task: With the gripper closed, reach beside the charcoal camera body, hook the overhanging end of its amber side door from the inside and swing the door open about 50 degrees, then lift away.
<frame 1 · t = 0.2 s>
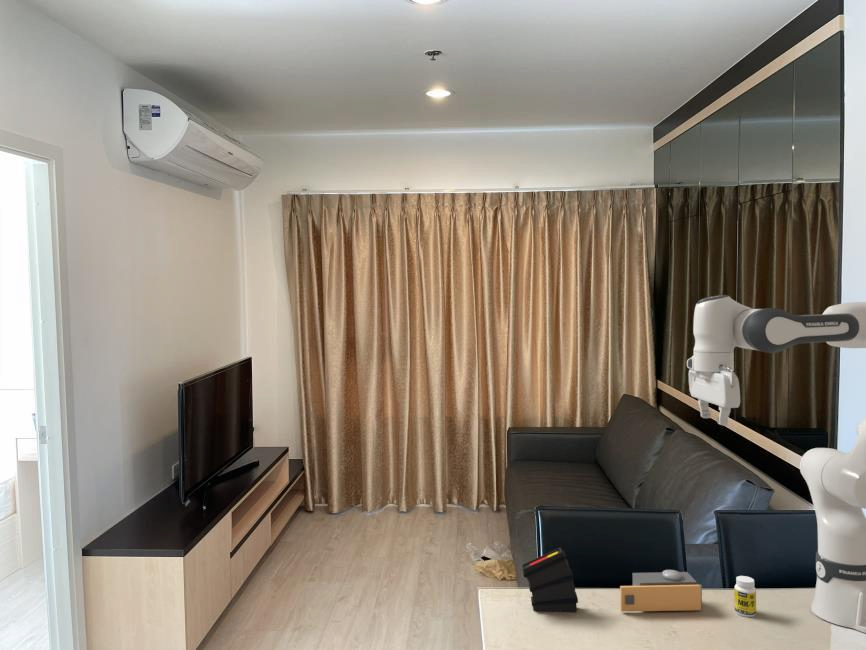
hand: (713, 421, 154), 48 cm above the table, tool pointing down, fingers open, 8 cm apart
magazine: (549, 609, 162), on the table
side door: (661, 598, 158), point 3 cm above the table, hinge at 0.0°
camera body: (664, 604, 163), on the table
supplement bottle: (745, 613, 158), on the table
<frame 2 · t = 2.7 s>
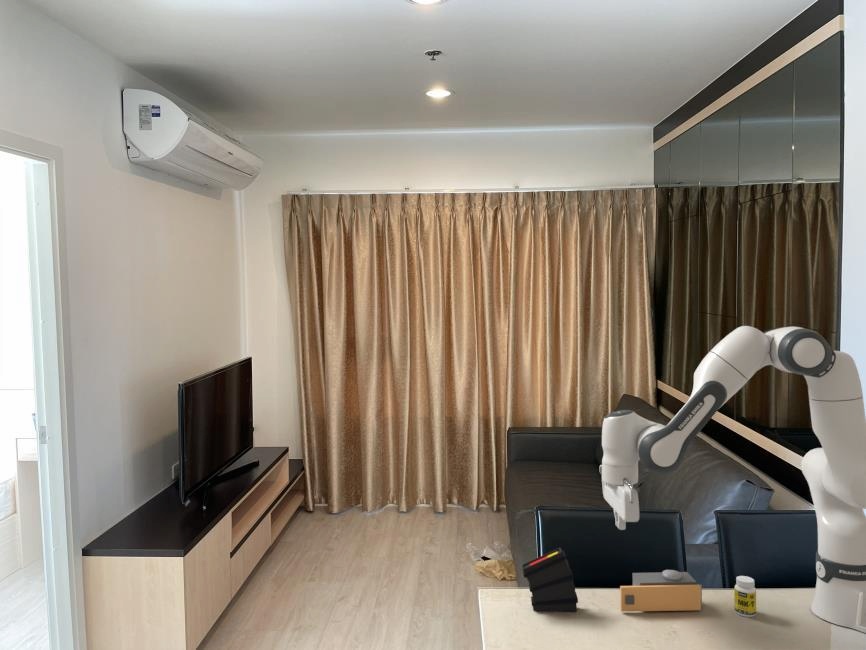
hand: (620, 527, 165), 19 cm above the table, tool pointing down, fingers closed
nothing on the table moved.
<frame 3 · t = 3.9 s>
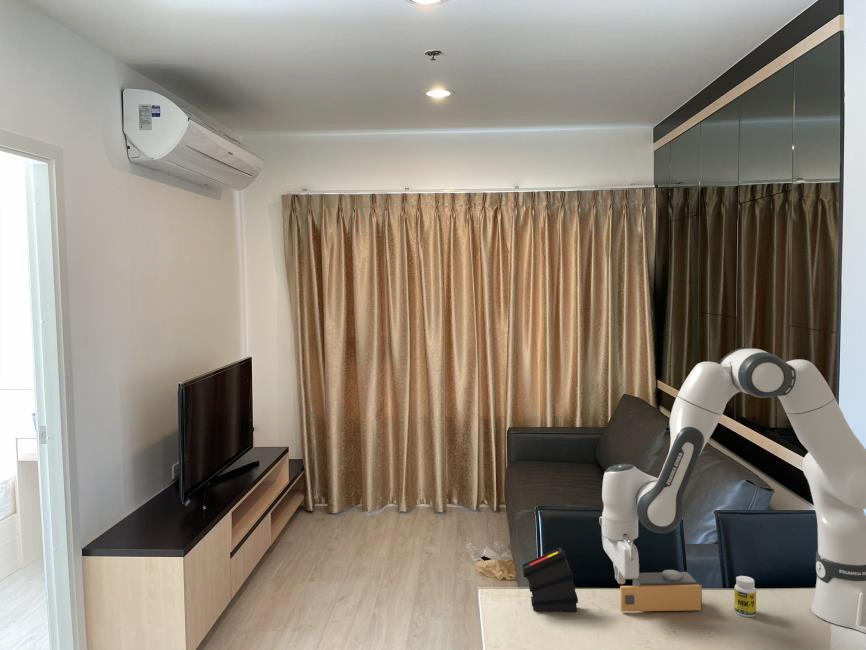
hand: (620, 581, 165), 5 cm above the table, tool pointing down, fingers closed
nothing on the table moved.
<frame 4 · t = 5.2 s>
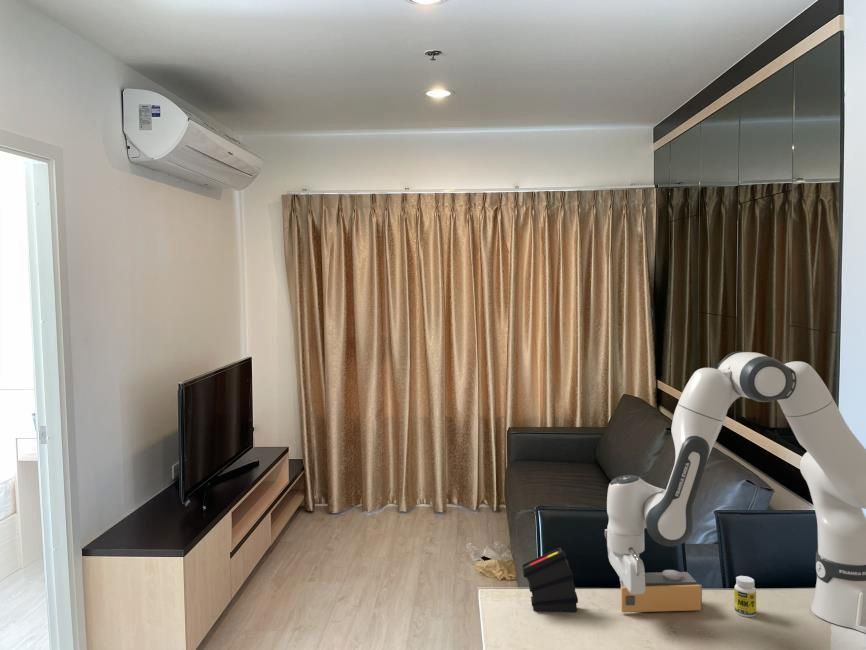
hand: (626, 596, 161), 3 cm above the table, tool pointing down, fingers closed
side door: (662, 598, 158), point 3 cm above the table, hinge at 1.3°, touching gripper
everything else where it was.
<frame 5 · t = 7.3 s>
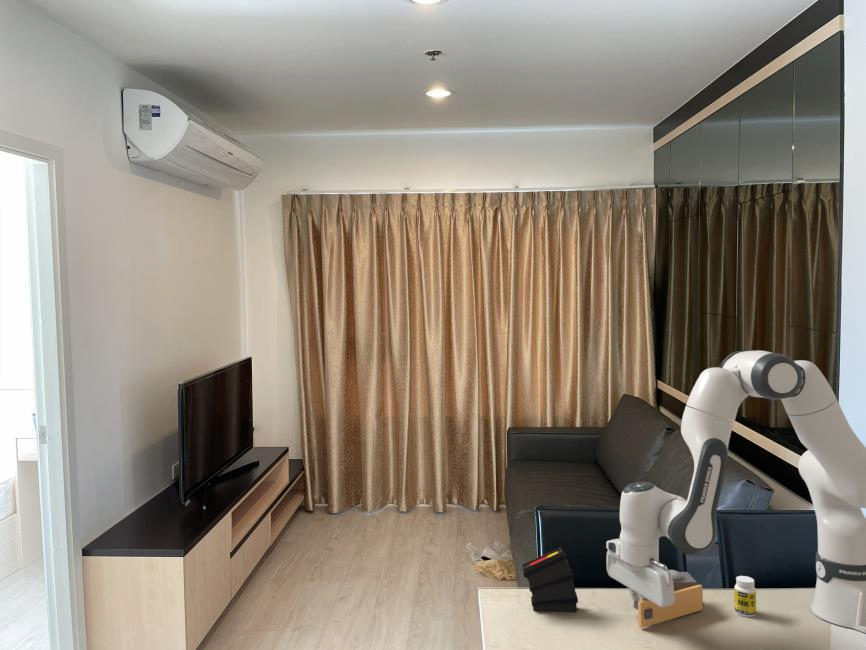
hand: (639, 609, 154), 3 cm above the table, tool pointing down, fingers closed
side door: (672, 606, 154), point 4 cm above the table, hinge at 25.2°, touching gripper
everything else where it was.
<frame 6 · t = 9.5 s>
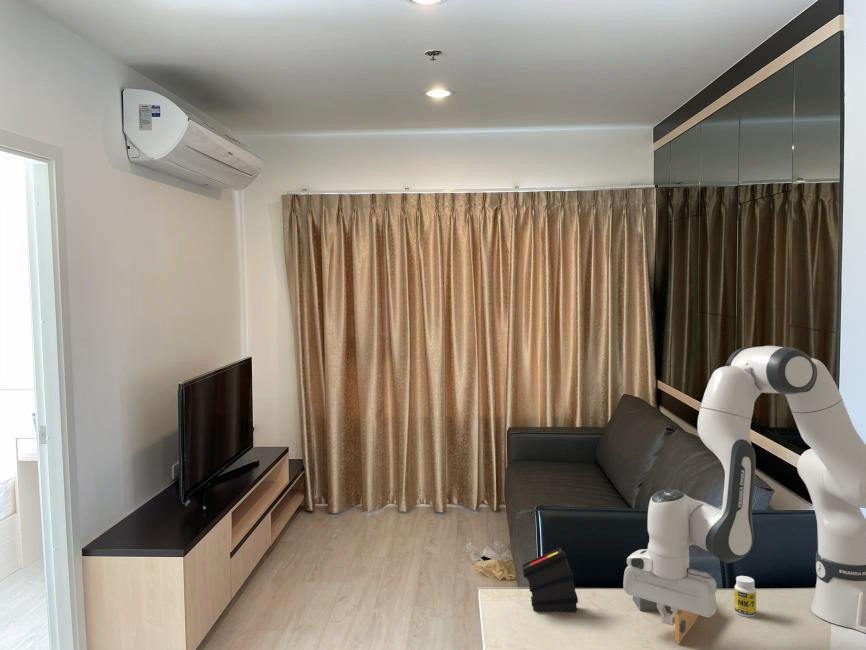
hand: (668, 623, 147), 3 cm above the table, tool pointing down, fingers closed
side door: (691, 612, 151), point 3 cm above the table, hinge at 52.9°, touching gripper
everything else where it was.
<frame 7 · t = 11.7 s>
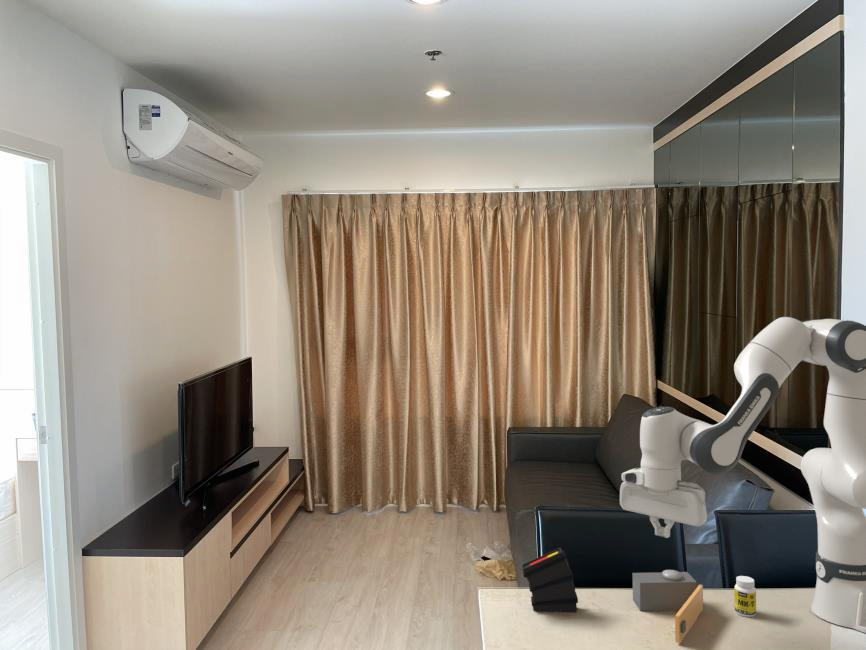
hand: (662, 535, 151), 22 cm above the table, tool pointing down, fingers closed
side door: (691, 612, 151), point 3 cm above the table, hinge at 53.0°
everything else where it was.
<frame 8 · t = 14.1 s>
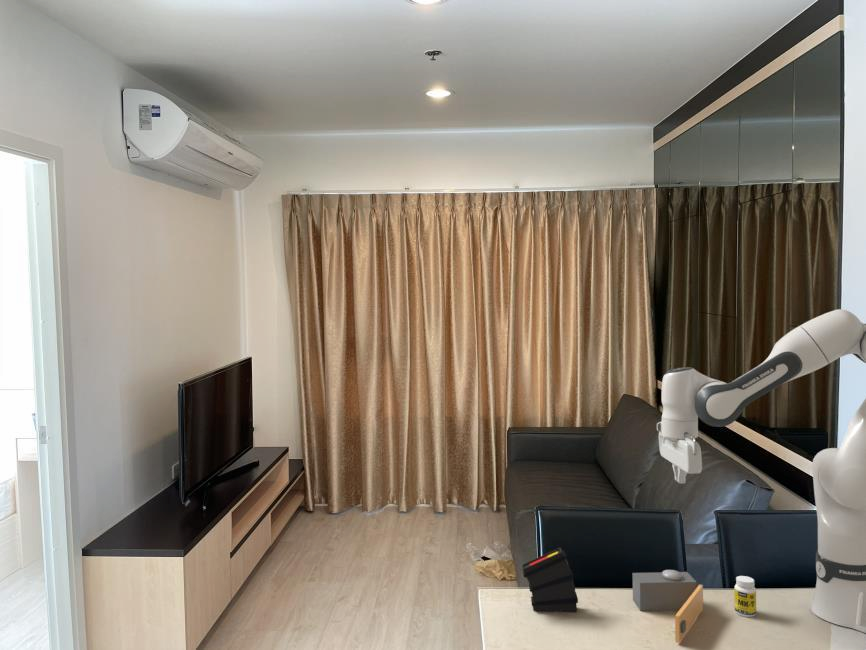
hand: (680, 482, 169), 29 cm above the table, tool pointing down, fingers closed
nothing on the table moved.
at the end: side door at +53° (first picture: +0°); magazine moved 0.3 cm from its start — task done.
